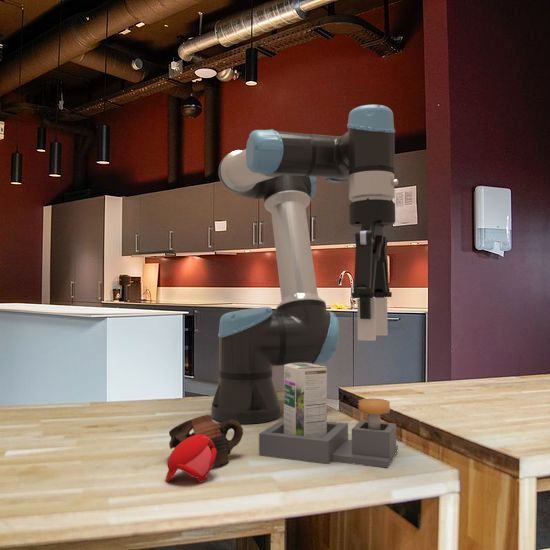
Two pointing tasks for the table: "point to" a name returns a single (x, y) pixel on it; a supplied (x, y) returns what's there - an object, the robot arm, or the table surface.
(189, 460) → the cap
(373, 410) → the plunger
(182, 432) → the pottery mug
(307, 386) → the syrup box
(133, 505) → the table surface
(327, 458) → the grey rectangular open-box piece
